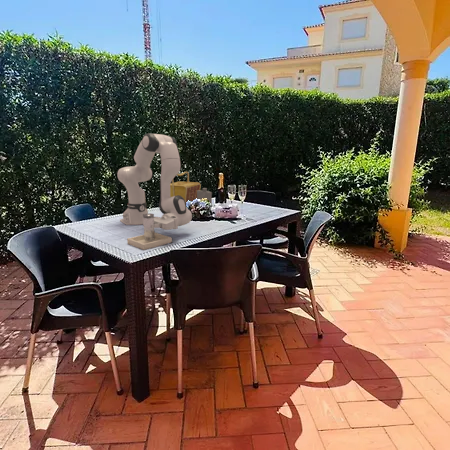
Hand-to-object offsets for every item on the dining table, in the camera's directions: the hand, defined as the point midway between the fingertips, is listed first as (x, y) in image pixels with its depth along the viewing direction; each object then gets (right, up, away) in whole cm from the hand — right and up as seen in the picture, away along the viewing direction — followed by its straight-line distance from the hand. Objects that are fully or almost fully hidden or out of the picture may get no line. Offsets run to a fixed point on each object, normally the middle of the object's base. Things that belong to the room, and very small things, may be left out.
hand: (147, 225), depth 168 cm
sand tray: (0, -10, +3) cm, 10 cm away
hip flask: (+26, +10, +82) cm, 86 cm away
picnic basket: (+3, +17, +108) cm, 110 cm away
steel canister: (+1, -8, +3) cm, 8 cm away
